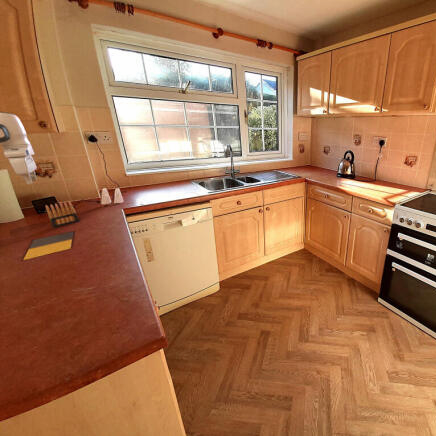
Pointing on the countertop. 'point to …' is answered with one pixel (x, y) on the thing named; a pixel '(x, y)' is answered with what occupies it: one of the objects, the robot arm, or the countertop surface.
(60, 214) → the ammunition clip
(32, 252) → the sorting board
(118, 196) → the shaker set
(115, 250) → the countertop surface
